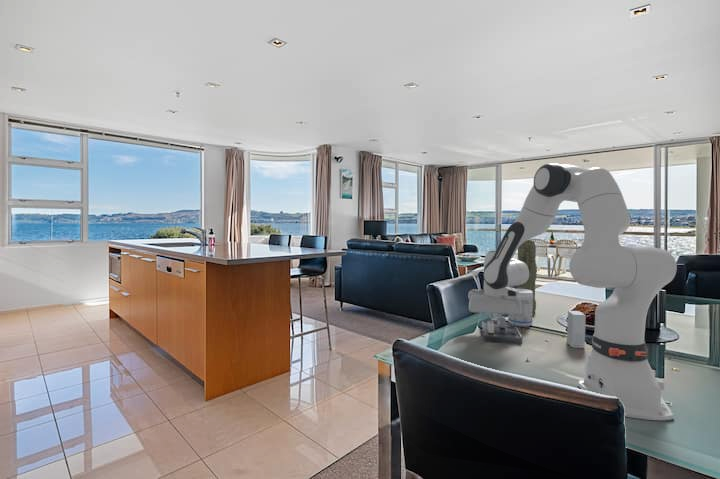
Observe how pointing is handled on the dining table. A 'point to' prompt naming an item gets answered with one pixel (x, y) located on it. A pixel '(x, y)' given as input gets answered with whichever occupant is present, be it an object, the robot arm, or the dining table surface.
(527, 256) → the green cactus
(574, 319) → the skincare box
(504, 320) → the fader slate
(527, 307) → the supplement tub
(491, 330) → the fader ivory
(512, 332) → the grey tray
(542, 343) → the dining table surface
